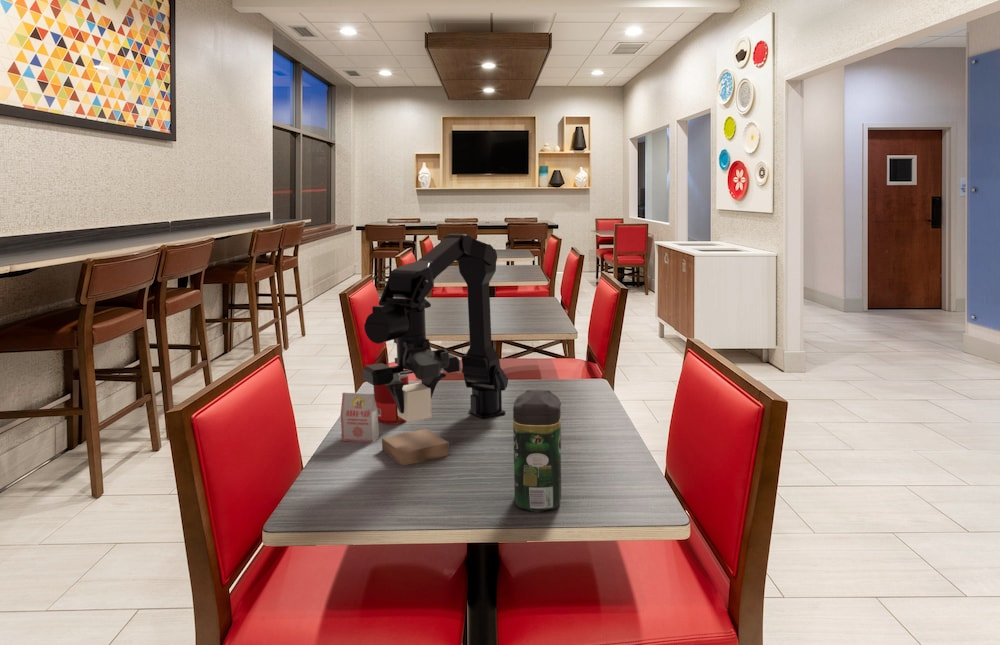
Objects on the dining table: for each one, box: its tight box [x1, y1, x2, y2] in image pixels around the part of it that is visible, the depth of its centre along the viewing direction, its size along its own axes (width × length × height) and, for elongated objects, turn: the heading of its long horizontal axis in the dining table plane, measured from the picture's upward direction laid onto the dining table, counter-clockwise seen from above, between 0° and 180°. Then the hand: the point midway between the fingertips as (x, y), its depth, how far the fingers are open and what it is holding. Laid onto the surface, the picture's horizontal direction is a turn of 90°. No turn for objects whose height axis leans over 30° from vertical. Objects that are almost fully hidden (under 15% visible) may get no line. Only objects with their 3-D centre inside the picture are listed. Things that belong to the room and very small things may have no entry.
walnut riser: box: [381, 428, 450, 467], centre depth 141 cm, size 10×10×3 cm
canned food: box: [373, 374, 409, 425], centre depth 161 cm, size 8×8×11 cm
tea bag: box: [340, 392, 380, 443], centre depth 149 cm, size 4×7×10 cm, turn 81°
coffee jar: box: [512, 389, 562, 512], centre depth 117 cm, size 10×8×19 cm
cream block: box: [397, 382, 433, 423], centre depth 139 cm, size 5×5×6 cm
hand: (414, 410), depth 140 cm, fingers closed on cream block, 5 cm apart
